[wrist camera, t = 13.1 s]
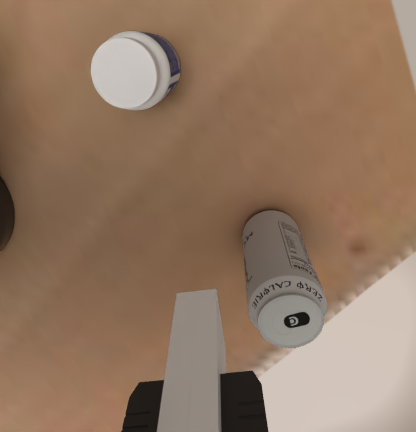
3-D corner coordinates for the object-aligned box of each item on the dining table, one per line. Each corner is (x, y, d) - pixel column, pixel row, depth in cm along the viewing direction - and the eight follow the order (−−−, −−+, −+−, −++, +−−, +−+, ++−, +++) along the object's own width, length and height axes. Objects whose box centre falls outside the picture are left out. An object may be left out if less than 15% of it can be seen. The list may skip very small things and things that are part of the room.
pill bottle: (122, 28, 34) (84, 20, 25) (185, 40, 34) (170, 36, 25) (118, 94, 36) (81, 109, 27) (177, 104, 36) (160, 123, 27)
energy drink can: (234, 216, 41) (238, 300, 27) (289, 199, 40) (321, 278, 26) (251, 262, 43) (262, 362, 29) (303, 247, 42) (340, 343, 28)
